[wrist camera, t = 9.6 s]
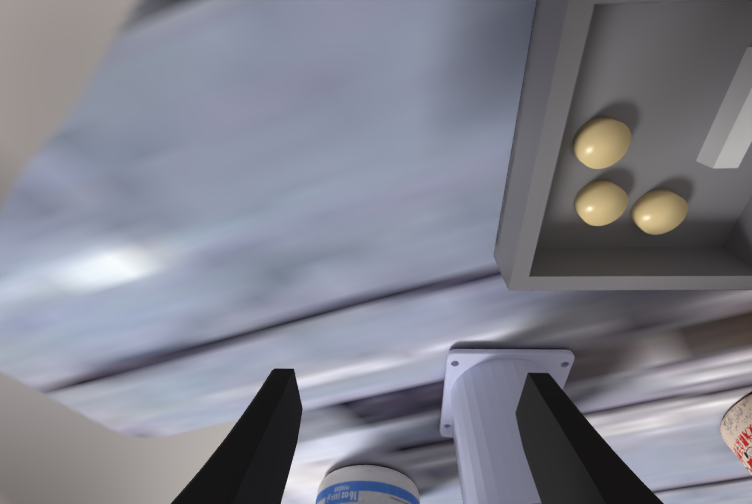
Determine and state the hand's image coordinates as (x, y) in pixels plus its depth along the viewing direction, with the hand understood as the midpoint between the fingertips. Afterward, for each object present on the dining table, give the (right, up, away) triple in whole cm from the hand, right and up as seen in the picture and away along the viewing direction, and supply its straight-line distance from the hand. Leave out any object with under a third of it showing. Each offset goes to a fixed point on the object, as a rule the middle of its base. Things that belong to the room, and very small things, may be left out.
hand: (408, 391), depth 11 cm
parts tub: (+11, +9, +5) cm, 15 cm away
